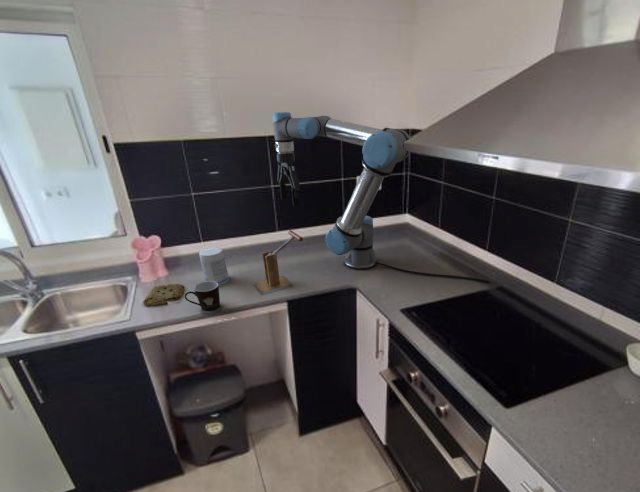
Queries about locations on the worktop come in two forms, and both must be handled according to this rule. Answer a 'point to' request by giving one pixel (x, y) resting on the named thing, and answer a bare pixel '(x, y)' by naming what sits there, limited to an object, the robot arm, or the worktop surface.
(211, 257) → the supplement tub
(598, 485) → the worktop surface
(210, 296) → the coffee mug
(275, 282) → the bracket
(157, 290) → the pastry
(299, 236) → the lever
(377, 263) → the robot arm
